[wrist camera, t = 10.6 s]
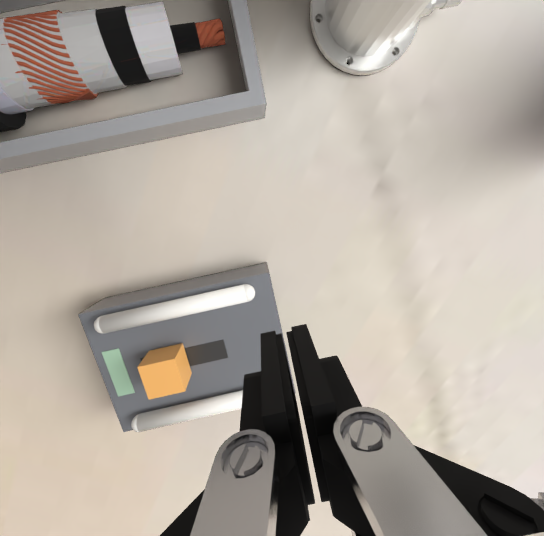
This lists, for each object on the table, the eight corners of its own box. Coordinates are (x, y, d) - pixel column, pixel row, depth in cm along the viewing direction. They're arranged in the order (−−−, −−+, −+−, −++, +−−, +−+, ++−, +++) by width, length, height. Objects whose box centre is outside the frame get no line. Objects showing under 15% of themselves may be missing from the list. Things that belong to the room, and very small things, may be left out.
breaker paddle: (182, 343, 33) (174, 358, 30) (191, 373, 34) (185, 391, 31) (149, 350, 33) (137, 367, 30) (159, 380, 34) (148, 399, 31)
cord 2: (275, 379, 36) (277, 389, 34) (279, 392, 36) (280, 403, 34) (133, 411, 35) (126, 423, 33) (138, 425, 36) (131, 437, 34)
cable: (227, 81, 38) (240, 91, 30) (-52, 135, 34) (-118, 162, 26) (205, -26, 31) (215, -48, 24) (-141, 24, 27) (-264, 17, 20)
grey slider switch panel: (266, 262, 38) (269, 272, 33) (289, 366, 42) (295, 393, 36) (105, 297, 38) (77, 314, 32) (141, 400, 42) (123, 432, 36)
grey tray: (231, -51, 31) (227, -98, 26) (264, 117, 35) (266, 103, 30) (-150, 25, 30) (-228, -10, 25) (-74, 188, 34) (-129, 185, 29)
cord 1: (252, 280, 33) (252, 285, 31) (256, 296, 33) (257, 302, 31) (97, 314, 32) (87, 321, 30) (103, 330, 33) (93, 338, 31)
